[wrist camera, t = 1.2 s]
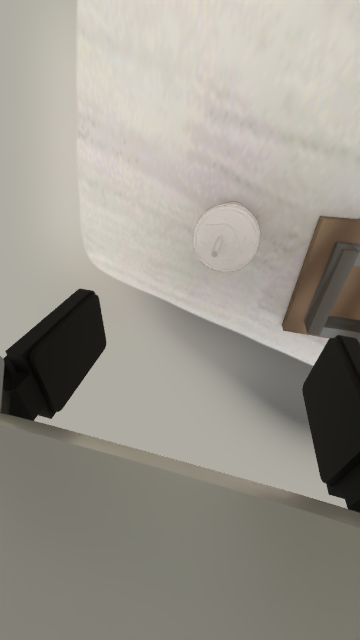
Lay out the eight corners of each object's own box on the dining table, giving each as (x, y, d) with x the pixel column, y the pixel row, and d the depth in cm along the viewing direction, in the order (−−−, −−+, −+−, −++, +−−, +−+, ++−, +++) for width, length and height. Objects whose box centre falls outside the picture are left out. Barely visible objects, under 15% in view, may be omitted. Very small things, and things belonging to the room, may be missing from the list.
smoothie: (232, 176, 28) (217, 197, 17) (270, 214, 29) (279, 256, 18) (197, 220, 32) (166, 260, 21) (232, 252, 33) (221, 306, 22)
